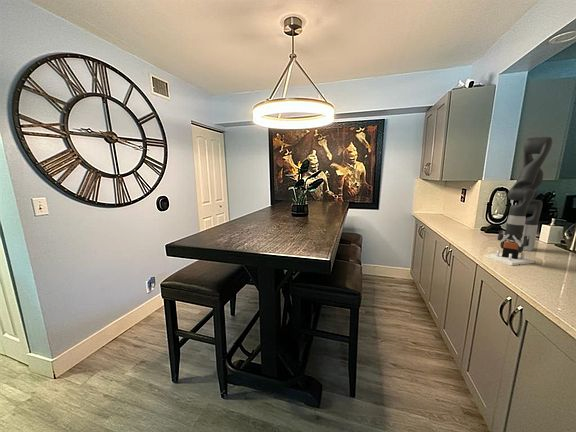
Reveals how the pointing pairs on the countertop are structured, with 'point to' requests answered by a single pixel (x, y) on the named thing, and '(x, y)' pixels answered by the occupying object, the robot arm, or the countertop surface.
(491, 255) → the pin dock
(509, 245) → the battery
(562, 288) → the countertop surface
